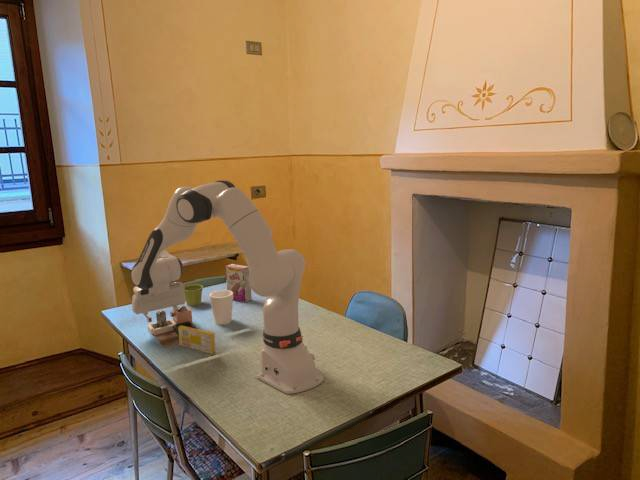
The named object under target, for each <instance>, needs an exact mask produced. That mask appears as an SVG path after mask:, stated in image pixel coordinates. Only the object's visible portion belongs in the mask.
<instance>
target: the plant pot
mask: <svg viewBox="0 0 640 480" xmlns="http://www.w3.org/2000/svg"><path fill="white" fill-rule="evenodd" d="M184 286H185V290H184V293H185V297H186V302H185V303H186V306H187V307H193V306H194V307H195V306H199V305H201V304H202V292H203V288H204V286H203V285H202V284H189V285H184Z"/></svg>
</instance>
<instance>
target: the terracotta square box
mask: <svg viewBox="0 0 640 480" xmlns="http://www.w3.org/2000/svg"><path fill="white" fill-rule="evenodd" d="M185 307H186V311H183V312H179V313H178V312H177V310H176V312H175V316H174V317H172V320H174V321H175V322H176V323H177V324H179V323H184V322H188V321H190V322H191V323H192V324H193V325H194V323H193V314H192V309H191V308H189V306H187V305H186V306H185Z"/></svg>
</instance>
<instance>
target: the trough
mask: <svg viewBox="0 0 640 480" xmlns="http://www.w3.org/2000/svg"><path fill="white" fill-rule="evenodd" d="M166 321H167V325H168V326H164V327H160V328H157V321H156V322H150V323H148V325H147V326H146V327H147V331H148V332H149V333H150V335H153V334H154V335H156V334H160V333H164V332H168V331H172V330H173V325H176V324H177V323H176V322H175V321H174V320H173V319H170V318H169V319H166ZM155 328H156V329H155ZM154 335H153V336H154Z"/></svg>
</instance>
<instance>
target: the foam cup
mask: <svg viewBox="0 0 640 480" xmlns="http://www.w3.org/2000/svg"><path fill="white" fill-rule="evenodd" d="M208 298H209V302H210V305H211V310H212V315H213V319H214V322H215V323H214V324H216V325H220V326H222V325H223V326H224V325H228V324H230V323H231V322H232V320H233V319H232V316H233V303H234V302H233V301H234V300H233V292H232V291H229V290H227V289H222V290H220V289H219V290H215V291H212V292H210V293H209V297H208Z"/></svg>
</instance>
